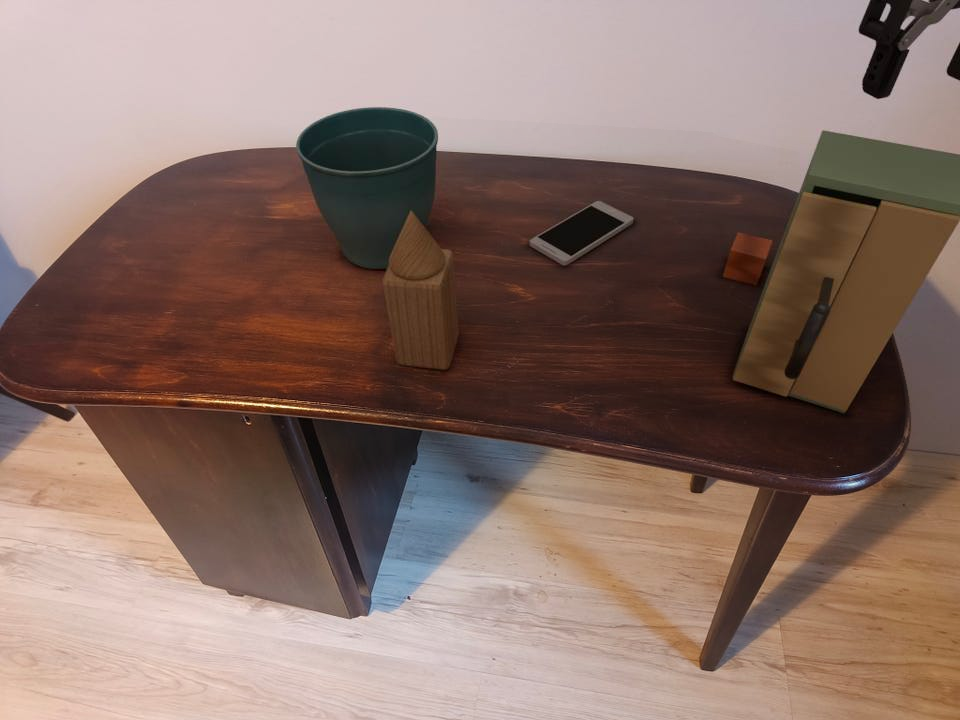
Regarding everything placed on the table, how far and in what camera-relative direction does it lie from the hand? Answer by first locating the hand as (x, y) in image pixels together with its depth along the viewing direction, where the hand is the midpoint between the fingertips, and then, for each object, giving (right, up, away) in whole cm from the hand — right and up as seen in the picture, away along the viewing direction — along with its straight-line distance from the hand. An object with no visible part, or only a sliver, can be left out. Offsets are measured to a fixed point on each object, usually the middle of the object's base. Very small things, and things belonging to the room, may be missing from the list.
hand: (917, 86), depth 51 cm
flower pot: (-49, -5, +43) cm, 65 cm away
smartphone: (-20, -3, +43) cm, 48 cm away
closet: (+1, -23, +23) cm, 33 cm away
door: (-5, -27, +18) cm, 33 cm away
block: (+1, -10, +36) cm, 37 cm away
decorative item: (-42, -21, +27) cm, 54 cm away
